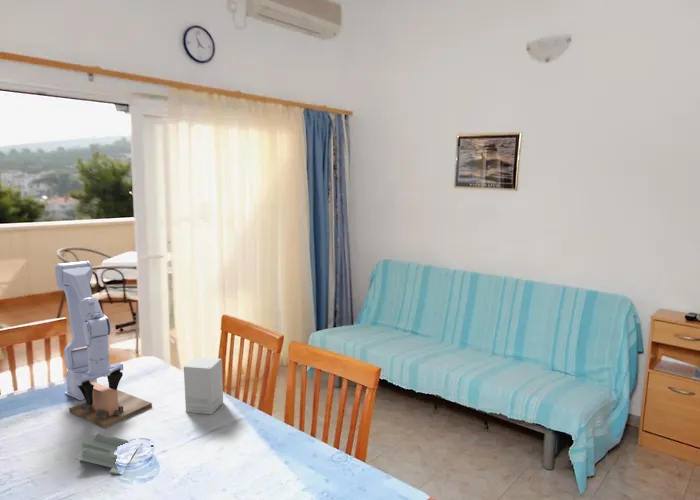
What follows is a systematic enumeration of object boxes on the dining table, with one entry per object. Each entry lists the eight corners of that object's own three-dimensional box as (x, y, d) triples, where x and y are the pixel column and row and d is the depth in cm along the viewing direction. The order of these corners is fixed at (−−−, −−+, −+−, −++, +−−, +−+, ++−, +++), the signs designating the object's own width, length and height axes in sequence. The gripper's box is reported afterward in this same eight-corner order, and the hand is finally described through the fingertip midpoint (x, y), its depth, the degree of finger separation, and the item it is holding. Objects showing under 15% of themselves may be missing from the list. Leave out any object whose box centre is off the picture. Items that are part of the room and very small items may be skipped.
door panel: (85, 406, 158) (84, 384, 157) (95, 402, 161) (93, 381, 160) (109, 416, 152) (108, 394, 151) (118, 412, 155) (117, 390, 154)
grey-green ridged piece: (69, 455, 124) (95, 424, 139) (64, 476, 125) (90, 443, 140) (128, 469, 126) (148, 437, 141) (122, 490, 127) (143, 456, 141)
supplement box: (224, 402, 165) (223, 358, 163) (212, 415, 157) (210, 368, 154) (198, 399, 167) (196, 355, 165) (184, 412, 158) (182, 366, 156)
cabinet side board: (69, 411, 157) (68, 403, 157) (116, 392, 171) (116, 385, 170) (104, 428, 148) (104, 419, 148) (151, 406, 161) (151, 398, 161)
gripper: (83, 367, 146) (86, 412, 148) (128, 352, 158) (130, 394, 160) (69, 362, 149) (72, 406, 152) (114, 348, 162) (116, 388, 164)
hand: (101, 399), depth 156 cm, fingers open, 7 cm apart
